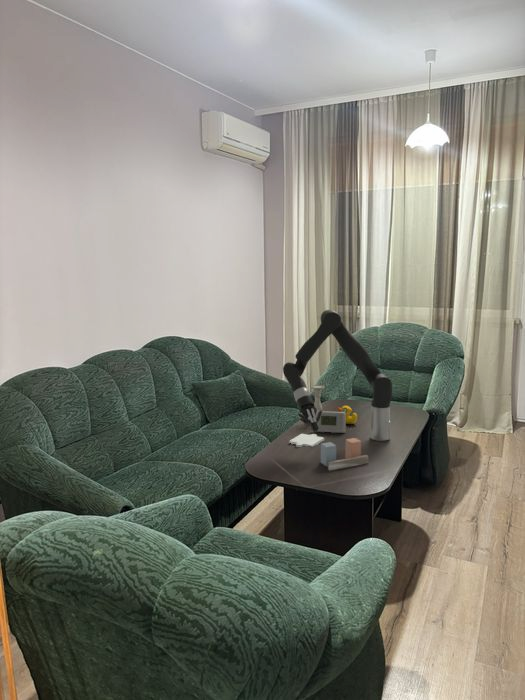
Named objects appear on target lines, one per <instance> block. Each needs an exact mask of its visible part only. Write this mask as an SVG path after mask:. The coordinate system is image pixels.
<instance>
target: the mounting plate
mask: <svg viewBox="0 0 525 700" xmlns="http://www.w3.org/2000/svg"><path fill="white" fill-rule="evenodd" d="M322 441H323V442H324V441H325V437H322V436H318V435H317V434H316V433H312V434H305V433H300V434H299V435H297V436H295V437H293V438H292V439H290V440H289V443H291V444H290V445H293V444H296V445H295V447H296V448H298V447H302V448H304V447H303V446H306V447H305V448H307V447H310V448H311V447H315V446H318V445H320V444H321V443H323V442H322ZM320 442H321V443H320ZM289 443H288V444H289ZM319 443H320V444H319Z"/></svg>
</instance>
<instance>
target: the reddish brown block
mask: <svg viewBox="0 0 525 700" xmlns="http://www.w3.org/2000/svg"><path fill="white" fill-rule="evenodd" d="M344 453H345V457H344V459H348V458H353V457H358V456H362V455H361V454H362V441H361V440H360V439H358V438H356V437H352V438H347V439H345V452H344Z"/></svg>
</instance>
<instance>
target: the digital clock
mask: <svg viewBox="0 0 525 700" xmlns="http://www.w3.org/2000/svg"><path fill="white" fill-rule="evenodd" d="M321 411H322V410H321ZM316 418H317V414H316ZM317 425H318V431H316V432H317V433H324V432H331V433H330V434H342V433H343V434H345V433H346V428H347V427H346V425H347V424H346V413H345V412H339V411H327V410H326V411H325V410H323V411H322V414H321V417H320V419H319V421H318V422H317Z"/></svg>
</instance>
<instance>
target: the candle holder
mask: <svg viewBox="0 0 525 700" xmlns="http://www.w3.org/2000/svg"><path fill="white" fill-rule="evenodd" d="M310 389H312V390H313V391H314V395H313V396H314V401H313V403H314V406H315V408H316V409H317V410H318V411H322V410H323V405H322V403H321V396H322V394H321V392H322V390H324V389H325V386H324V385H321V384H313V385H311V386H310ZM315 416H316V414H315Z"/></svg>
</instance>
